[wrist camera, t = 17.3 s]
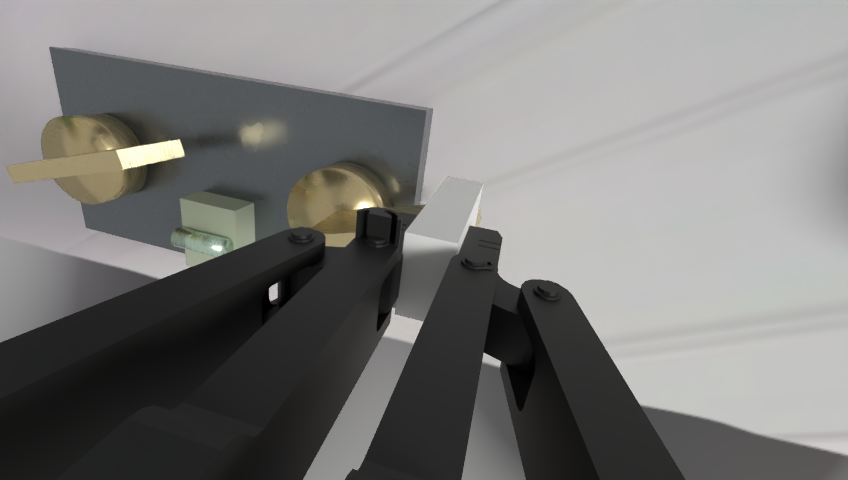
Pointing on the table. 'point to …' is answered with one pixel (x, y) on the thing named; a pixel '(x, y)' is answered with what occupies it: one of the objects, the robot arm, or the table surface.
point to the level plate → (233, 148)
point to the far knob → (94, 158)
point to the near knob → (339, 201)
